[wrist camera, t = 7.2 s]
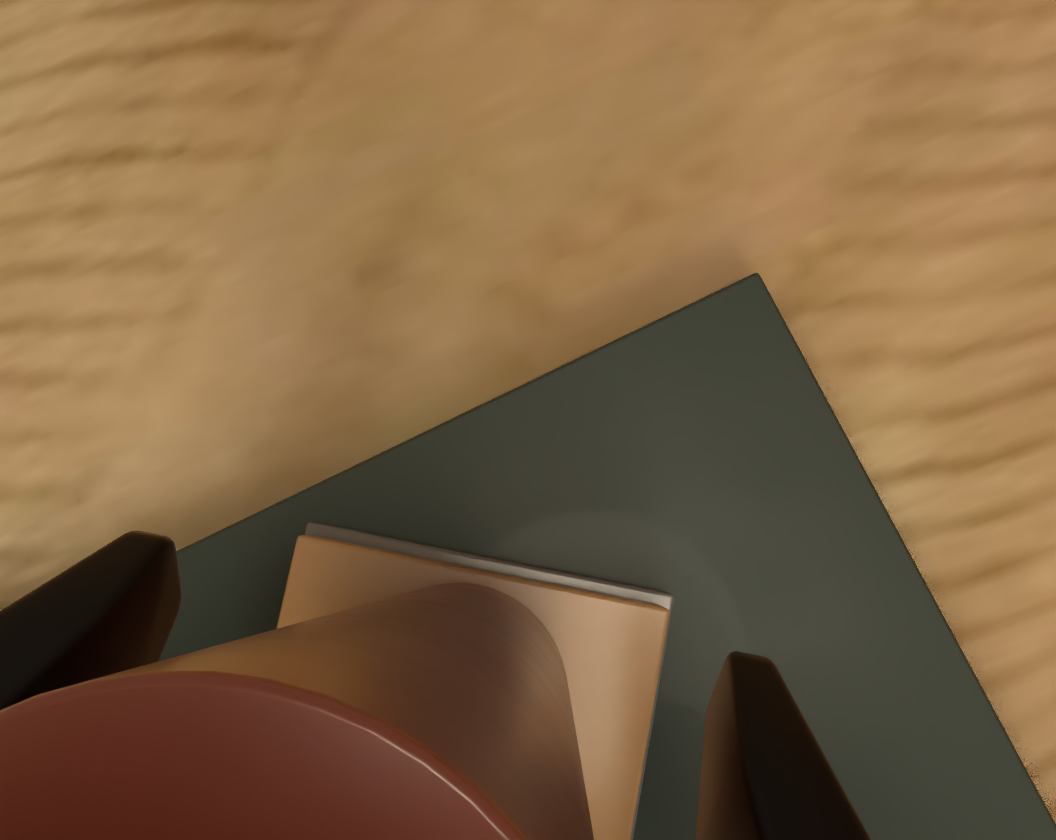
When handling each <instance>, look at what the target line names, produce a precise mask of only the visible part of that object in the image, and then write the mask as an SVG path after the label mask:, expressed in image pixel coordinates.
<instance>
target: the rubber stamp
mask: <svg viewBox="0 0 1056 840" xmlns="http://www.w3.org/2000/svg"><path fill="white" fill-rule="evenodd" d="M673 604H674V595H673V594H671V593H668V592H665V591H660V590H655V589H649V588H644V587H639V586H634V585H629V584H624V583H619V582H614V581H609V580H604V579H599V578H594V577H589V576H584V575H579V574H574V573H569V572H564V571H559V570H554V569H549V568H544V567H539V566H534V565H529V564H524V563H519V562H514V561H509V560H504V559H499V558H494V557H489V556H484V555H479V554H473V553H468V552H463V551H458V550H453V549H448V548H443V547H438V546H433V545H428V544H423V543H418V542H413V541H408V540H403V539H398V538H393V537H388V536H383V535H378V534H373V533H368V532H363V531H358V530H353V529H348V528H343V527H338V526H333V525H328V524H322V523H315V522H309V523H308V524H307V526H306V531H305V535H301V536H298V538H297V540H296V545H295V549H294V553H293V558H292V562H291V567H290V571H289V575H288V580H287V584H286V589H285V593H284V597H283V602H282V606H281V611H280V615H279V619H278V624H277V628H276V629H274V630H271V631H267V632H263V633H260V634H256V635H253V636H249V637H245V638H242V639H238V640H234V641H231V642H227V643H223V644H220V645H216V646H212V647H209V648H205V649H202V650H198V651H194V652H191V653H187V654H183V655H180V656H176V657H172V658H169V659H165V660H162V661H158V662H154V663H151V664H147V665H143V666H140V667H136V668H132V669H129V670H125V671H122V672H118V673H114V674H111V675H107V676H103V677H100V678H96V679H92V680H89V681H85V682H81V683H78V684H74V685H71V686H67V687H63V688H60V689H56V690H52V691H49V692H45V693H41V694H38V695H35V696H33V697H31V698H28V699H26V700H24V701H21V702H19V703H16V704H14V705H12V706H9V707H7V708H4V709H2V710H0V840H633V835H634V829H635V824H636V818H637V812H638V806H639V801H640V795H641V789H642V783H643V777H644V772H645V766H646V760H647V754H648V748H649V743H650V737H651V731H652V725H653V720H654V714H655V708H656V702H657V696H658V691H659V685H660V679H661V673H662V668H663V662H664V656H665V650H666V644H667V639H668V633H669V627H670V621H671V616H672V610H673Z"/></svg>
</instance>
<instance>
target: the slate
mask: <svg viewBox="0 0 1056 840" xmlns="http://www.w3.org/2000/svg"><path fill="white" fill-rule="evenodd" d="M309 522H315V523H322V524H328V525H333V526H338V527H343V528H348V529H353V530H358V531H363V532H368V533H373V534H378V535H383V536H388V537H393V538H398V539H403V540H408V541H413V542H418V543H423V544H428V545H433V546H438V547H443V548H448V549H453V550H458V551H463V552H468V553H473V554H479V555H484V556H489V557H494V558H499V559H504V560H509V561H514V562H519V563H524V564H529V565H534V566H539V567H544V568H549V569H554V570H559V571H564V572H569V573H574V574H579V575H584V576H589V577H594V578H599V579H604V580H609V581H614V582H619V583H624V584H629V585H634V586H639V587H644V588H649V589H655V590H660V591H665V592H668V593H671V594H673V595H674V604H673V610H672V616H671V621H670V627H669V633H668V639H667V644H666V650H665V656H664V662H663V668H662V673H661V679H660V685H659V691H658V696H657V702H656V708H655V714H654V720H653V725H652V731H651V737H650V743H649V748H648V754H647V760H646V766H645V772H644V777H643V783H642V789H641V795H640V801H639V806H638V812H637V818H636V824H635V829H634V835H633V840H695V838H696V826H697V814H698V802H699V790H700V778H701V766H702V754H703V742H704V730H705V720H706V713H707V708H708V704H709V700H710V698H711V695H712V692H713V690H714V687H715V685H716V682H717V680H718V677H719V674H720V672H721V669H722V667H723V664H724V662H725V659H726V657H727V656H728V655H729V654H730V653H731V652H733V651H739V652H744V653H749V654H754V655H759V656H764V657H767V658H769V659H770V660H771V661H773V663H774V664H775V665H776V667H777V669H778V671H779V672H780V674H781V676H782V678H783V680H784V682H785V683H786V685H787V687H788V689H789V691H790V693H791V694H792V696H793V698H794V700H795V702H796V703H797V705H798V707H799V709H800V711H801V713H802V714H803V716H804V718H805V720H806V722H807V724H808V725H809V727H810V729H811V731H812V733H813V735H814V736H815V738H816V740H817V742H818V744H819V746H820V747H821V749H822V751H823V753H824V755H825V756H826V758H827V760H828V762H829V764H830V766H831V767H832V769H833V771H834V773H835V775H836V777H837V778H838V780H839V782H840V784H841V786H842V788H843V789H844V791H845V793H846V795H847V797H848V799H849V800H850V802H851V804H852V806H853V808H854V809H855V811H856V813H857V815H858V817H859V819H860V820H861V822H862V824H863V826H864V828H865V830H866V831H867V833H868V835H869V837H870V839H871V840H1056V824H1055V822H1054V820H1053V819H1052V817H1051V815H1050V813H1049V811H1048V809H1047V807H1046V806H1045V804H1044V802H1043V800H1042V798H1041V796H1040V794H1039V793H1038V791H1037V789H1036V787H1035V785H1034V783H1033V781H1032V780H1031V778H1030V776H1029V774H1028V772H1027V770H1026V768H1025V767H1024V765H1023V763H1022V761H1021V759H1020V757H1019V755H1018V754H1017V752H1016V750H1015V748H1014V746H1013V744H1012V742H1011V741H1010V739H1009V737H1008V735H1007V733H1006V731H1005V729H1004V728H1003V726H1002V724H1001V722H1000V720H999V718H998V716H997V715H996V713H995V711H994V709H993V707H992V705H991V703H990V702H989V700H988V698H987V696H986V694H985V692H984V690H983V689H982V687H981V685H980V683H979V681H978V679H977V677H976V676H975V674H974V672H973V670H972V668H971V666H970V665H969V663H968V661H967V659H966V657H965V655H964V653H963V652H962V650H961V648H960V646H959V644H958V642H957V640H956V639H955V637H954V635H953V633H952V631H951V629H950V627H949V626H948V624H947V622H946V620H945V618H944V616H943V614H942V613H941V611H940V609H939V607H938V605H937V603H936V601H935V600H934V598H933V596H932V594H931V592H930V590H929V588H928V587H927V585H926V583H925V581H924V579H923V577H922V575H921V574H920V572H919V570H918V568H917V566H916V564H915V562H914V561H913V559H912V557H911V555H910V553H909V551H908V549H907V548H906V546H905V544H904V542H903V540H902V538H901V536H900V535H899V533H898V531H897V529H896V527H895V525H894V523H893V522H892V520H891V518H890V516H889V514H888V512H887V510H886V509H885V507H884V505H883V503H882V501H881V499H880V497H879V496H878V494H877V492H876V490H875V488H874V486H873V484H872V483H871V481H870V479H869V477H868V475H867V473H866V471H865V470H864V468H863V466H862V464H861V462H860V460H859V459H858V457H857V455H856V453H855V451H854V449H853V447H852V446H851V444H850V442H849V440H848V438H847V436H846V434H845V433H844V431H843V429H842V427H841V425H840V423H839V421H838V420H837V418H836V416H835V414H834V412H833V410H832V408H831V407H830V405H829V403H828V401H827V399H826V397H825V395H824V394H823V392H822V390H821V388H820V386H819V384H818V382H817V381H816V379H815V377H814V375H813V373H812V371H811V369H810V368H809V366H808V364H807V362H806V360H805V358H804V356H803V355H802V353H801V351H800V349H799V347H798V345H797V343H796V342H795V340H794V338H793V336H792V334H791V332H790V330H789V329H788V327H787V325H786V323H785V321H784V319H783V317H782V316H781V314H780V312H779V310H778V308H777V306H776V304H775V303H774V301H773V299H772V297H771V295H770V293H769V291H768V290H767V288H766V286H765V284H764V282H763V280H762V279H761V277H760V275H759V274H758V273H754V274H752V275H750V276H748V277H746V278H744V279H742V280H739V281H737V282H735V283H733V284H731V285H729V286H727V287H725V288H723V289H721V290H719V291H717V292H715V293H712V294H710V295H708V296H706V297H704V298H702V299H700V300H698V301H696V302H694V303H692V304H690V305H688V306H685V307H683V308H681V309H679V310H677V311H675V312H673V313H671V314H669V315H667V316H665V317H663V318H660V319H658V320H656V321H654V322H652V323H650V324H648V325H646V326H644V327H642V328H640V329H638V330H636V331H633V332H631V333H629V334H627V335H625V336H623V337H621V338H619V339H617V340H615V341H613V342H611V343H609V344H606V345H604V346H602V347H600V348H598V349H596V350H594V351H592V352H590V353H588V354H586V355H584V356H582V357H579V358H577V359H575V360H573V361H571V362H569V363H567V364H565V365H563V366H561V367H559V368H557V369H555V370H552V371H550V372H548V373H546V374H544V375H542V376H540V377H538V378H536V379H534V380H532V381H530V382H528V383H525V384H523V385H521V386H519V387H517V388H515V389H513V390H511V391H509V392H507V393H505V394H503V395H500V396H498V397H496V398H494V399H492V400H490V401H488V402H486V403H484V404H482V405H480V406H478V407H476V408H473V409H471V410H469V411H467V412H465V413H463V414H461V415H459V416H457V417H455V418H453V419H451V420H449V421H446V422H444V423H442V424H440V425H438V426H436V427H434V428H432V429H430V430H428V431H426V432H424V433H422V434H419V435H417V436H415V437H413V438H411V439H409V440H407V441H405V442H403V443H401V444H399V445H397V446H395V447H392V448H390V449H388V450H386V451H384V452H382V453H380V454H378V455H376V456H374V457H372V458H370V459H368V460H365V461H363V462H361V463H359V464H357V465H355V466H353V467H351V468H349V469H347V470H345V471H343V472H341V473H338V474H336V475H334V476H332V477H330V478H328V479H326V480H324V481H322V482H320V483H318V484H316V485H313V486H311V487H309V488H307V489H305V490H303V491H301V492H299V493H297V494H295V495H293V496H291V497H289V498H286V499H284V500H282V501H280V502H278V503H276V504H274V505H272V506H270V507H268V508H266V509H264V510H262V511H259V512H257V513H255V514H253V515H251V516H249V517H247V518H245V519H243V520H241V521H239V522H237V523H235V524H232V525H230V526H228V527H226V528H224V529H222V530H220V531H218V532H216V533H214V534H212V535H210V536H208V537H205V538H203V539H201V540H199V541H197V542H195V543H193V544H191V545H189V546H187V547H185V548H183V549H181V550H178V551H176V555H177V562H178V570H179V577H180V584H181V603H180V608H179V611H178V614H177V617H176V619H175V622H174V624H173V627H172V629H171V632H170V634H169V636H168V639H167V641H166V644H165V646H164V649H163V651H162V654H161V656H160V658H159V661H162V660H165V659H169V658H172V657H176V656H180V655H183V654H187V653H191V652H194V651H198V650H202V649H205V648H209V647H212V646H216V645H220V644H223V643H227V642H231V641H234V640H238V639H242V638H245V637H249V636H253V635H256V634H260V633H263V632H267V631H271V630H274V629H276V628H277V624H278V619H279V615H280V611H281V606H282V602H283V597H284V593H285V589H286V584H287V580H288V575H289V571H290V567H291V562H292V558H293V553H294V549H295V545H296V540H297V538H298V536H301V535H305V531H306V526H307V524H308V523H309Z"/></svg>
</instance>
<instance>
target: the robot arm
mask: <svg viewBox="0 0 1056 840" xmlns="http://www.w3.org/2000/svg"><path fill="white" fill-rule="evenodd" d="M180 603H181V584H180V577H179V570H178V562H177V555H176V549H175V545H174V543H173V541H172V540H171V539H170V538H169V537H167V536H163V535H158V534H153V533H148V532H143V531H131V532H128V533H125V534H124V535H122V536H120V537H119V538H117V539H115V540H114V541H112V542H111V543H109V544H107V545H106V546H104V547H103V548H101V549H99V550H98V551H96V552H95V553H93V554H91V555H90V556H88V557H86V558H85V559H83V560H82V561H80V562H78V563H77V564H75V565H74V566H72V567H70V568H69V569H67V570H66V571H64V572H62V573H61V574H59V575H58V576H56V577H54V578H53V579H51V580H49V581H48V582H46V583H45V584H43V585H41V586H40V587H38V588H37V589H35V590H33V591H32V592H30V593H29V594H27V595H25V596H24V597H22V598H21V599H19V600H17V601H16V602H14V603H12V604H11V605H9V606H8V607H6V608H4V609H3V610H1V611H0V710H2V709H4V708H7V707H9V706H12V705H14V704H16V703H19V702H21V701H24V700H26V699H28V698H31V697H33V696H35V695H38V694H41V693H45V692H49V691H52V690H56V689H60V688H63V687H67V686H71V685H74V684H78V683H81V682H85V681H89V680H92V679H96V678H100V677H103V676H107V675H111V674H114V673H118V672H122V671H125V670H129V669H132V668H136V667H140V666H143V665H147V664H151V663H154V662H158V661H159V658H160V656H161V654H162V651H163V649H164V646H165V644H166V641H167V639H168V636H169V634H170V632H171V629H172V627H173V624H174V622H175V619H176V617H177V614H178V611H179V608H180ZM695 840H871V839H870V837H869V835H868V833H867V831H866V830H865V828H864V826H863V824H862V822H861V820H860V819H859V817H858V815H857V813H856V811H855V809H854V808H853V806H852V804H851V802H850V800H849V799H848V797H847V795H846V793H845V791H844V789H843V788H842V786H841V784H840V782H839V780H838V778H837V777H836V775H835V773H834V771H833V769H832V767H831V766H830V764H829V762H828V760H827V758H826V756H825V755H824V753H823V751H822V749H821V747H820V746H819V744H818V742H817V740H816V738H815V736H814V735H813V733H812V731H811V729H810V727H809V725H808V724H807V722H806V720H805V718H804V716H803V714H802V713H801V711H800V709H799V707H798V705H797V703H796V702H795V700H794V698H793V696H792V694H791V693H790V691H789V689H788V687H787V685H786V683H785V682H784V680H783V678H782V676H781V674H780V672H779V671H778V669H777V667H776V665H775V664H774V663H773V661H771V660H770V659H769V658H767V657H764V656H759V655H754V654H749V653H744V652H739V651H733V652H731V653H730V654H729V655H728V656H727V657H726V659H725V662H724V664H723V667H722V669H721V672H720V674H719V677H718V680H717V682H716V685H715V687H714V690H713V692H712V695H711V698H710V700H709V704H708V708H707V713H706V720H705V730H704V742H703V754H702V766H701V778H700V790H699V802H698V814H697V826H696V838H695Z"/></svg>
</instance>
